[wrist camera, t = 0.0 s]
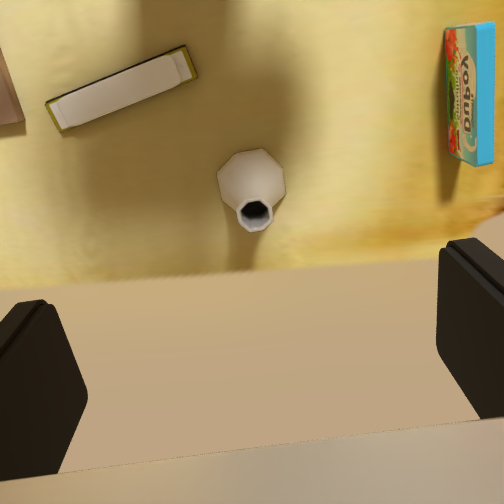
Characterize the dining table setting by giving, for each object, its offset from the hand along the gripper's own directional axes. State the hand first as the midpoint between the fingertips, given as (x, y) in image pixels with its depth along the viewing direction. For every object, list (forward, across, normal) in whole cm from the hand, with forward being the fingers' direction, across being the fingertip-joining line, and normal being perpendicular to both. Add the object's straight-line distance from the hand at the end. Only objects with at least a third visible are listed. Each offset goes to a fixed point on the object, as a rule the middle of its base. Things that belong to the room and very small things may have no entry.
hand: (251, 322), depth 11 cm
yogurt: (+37, -21, +1) cm, 43 cm away
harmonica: (+38, +11, -4) cm, 39 cm away
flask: (+37, 0, +7) cm, 38 cm away
